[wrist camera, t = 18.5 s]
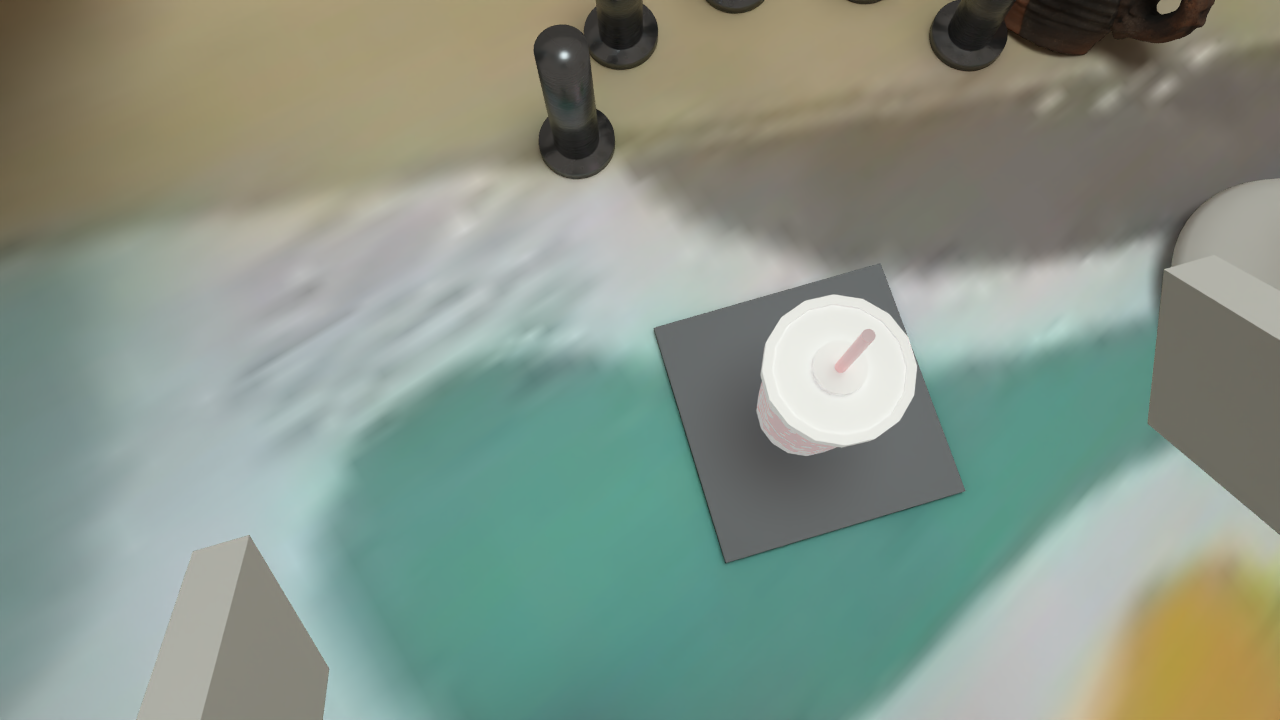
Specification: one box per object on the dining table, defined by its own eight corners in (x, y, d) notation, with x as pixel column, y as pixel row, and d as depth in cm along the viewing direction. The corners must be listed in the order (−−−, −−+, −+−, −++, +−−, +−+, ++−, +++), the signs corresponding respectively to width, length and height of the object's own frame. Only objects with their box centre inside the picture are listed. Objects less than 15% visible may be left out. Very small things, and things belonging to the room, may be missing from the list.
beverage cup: (737, 350, 46) (773, 253, 32) (860, 346, 46) (948, 248, 32) (744, 473, 44) (784, 426, 31) (871, 469, 44) (968, 421, 31)
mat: (725, 563, 44) (726, 562, 43) (654, 329, 46) (653, 327, 46) (962, 491, 44) (965, 490, 44) (878, 265, 47) (880, 263, 47)
